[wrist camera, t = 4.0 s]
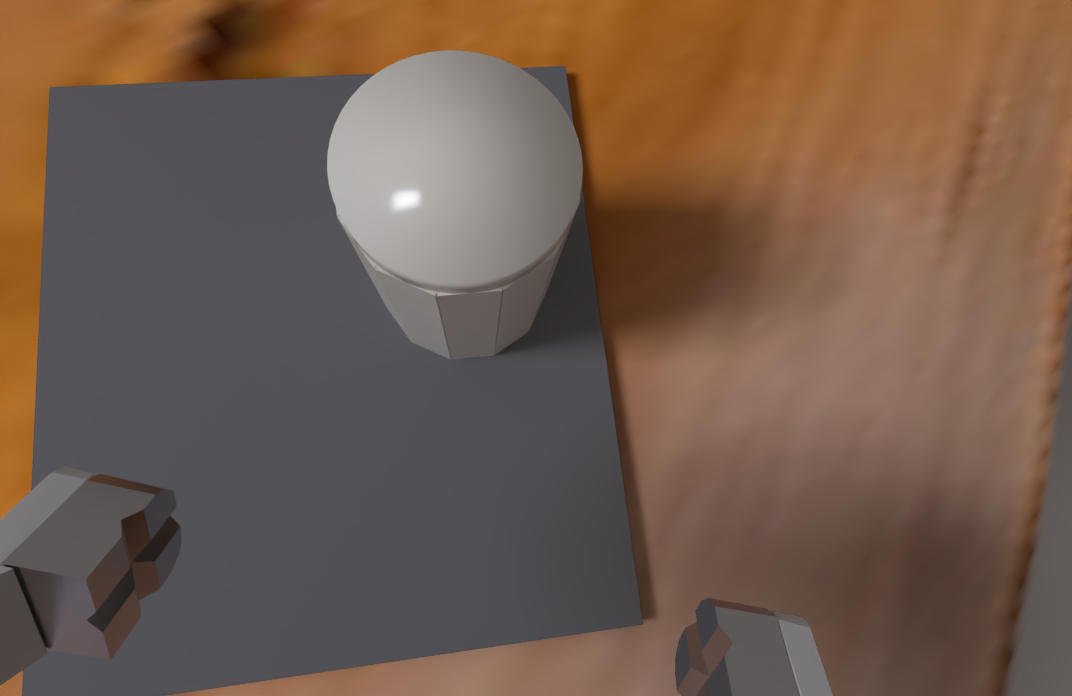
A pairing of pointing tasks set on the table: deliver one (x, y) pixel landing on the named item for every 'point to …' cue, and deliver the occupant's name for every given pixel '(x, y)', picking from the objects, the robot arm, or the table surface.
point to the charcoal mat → (305, 406)
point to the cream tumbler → (456, 195)
